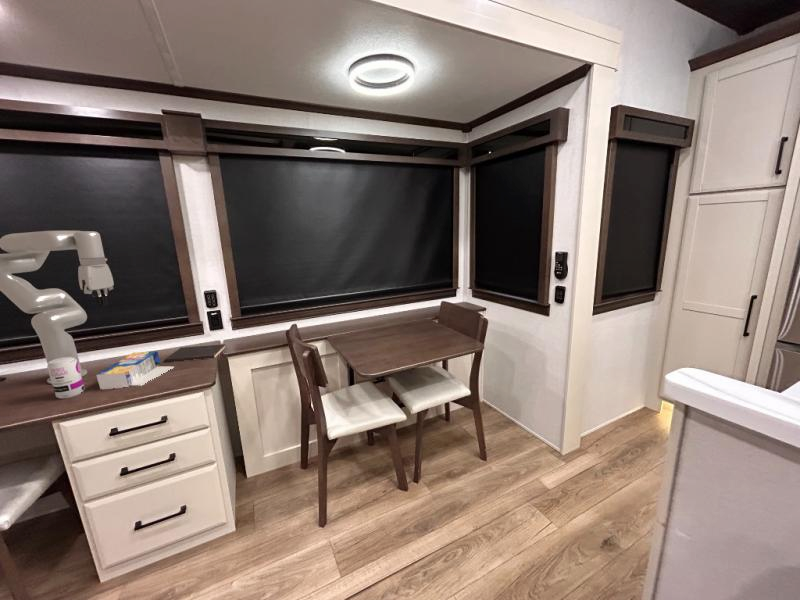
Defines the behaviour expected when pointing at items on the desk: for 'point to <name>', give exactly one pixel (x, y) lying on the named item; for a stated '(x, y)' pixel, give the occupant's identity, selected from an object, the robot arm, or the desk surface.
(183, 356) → the hardcover book
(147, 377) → the mat
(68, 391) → the supplement can
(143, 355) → the beverage box
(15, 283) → the robot arm
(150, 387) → the desk surface
